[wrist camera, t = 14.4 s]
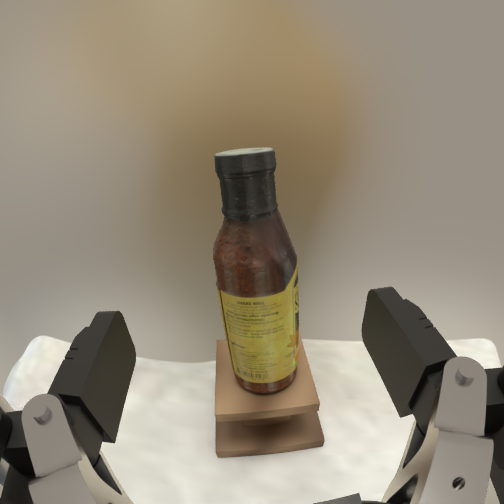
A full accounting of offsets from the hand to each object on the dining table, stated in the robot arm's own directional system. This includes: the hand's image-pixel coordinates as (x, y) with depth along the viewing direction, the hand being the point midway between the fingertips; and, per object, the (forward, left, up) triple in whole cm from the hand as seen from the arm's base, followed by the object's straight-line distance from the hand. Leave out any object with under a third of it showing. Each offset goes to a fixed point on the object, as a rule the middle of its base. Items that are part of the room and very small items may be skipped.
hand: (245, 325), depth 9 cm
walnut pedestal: (+1, +13, -24) cm, 27 cm away
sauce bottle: (+1, +12, -16) cm, 20 cm away
